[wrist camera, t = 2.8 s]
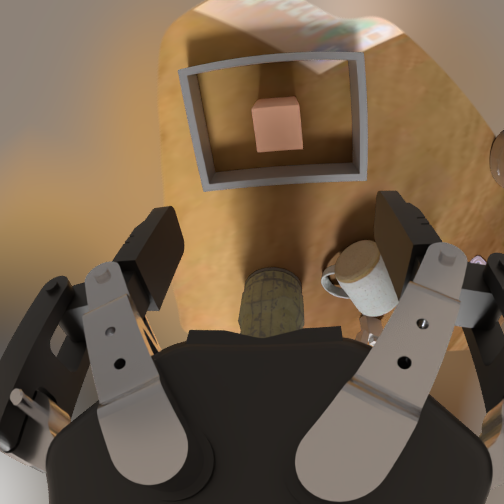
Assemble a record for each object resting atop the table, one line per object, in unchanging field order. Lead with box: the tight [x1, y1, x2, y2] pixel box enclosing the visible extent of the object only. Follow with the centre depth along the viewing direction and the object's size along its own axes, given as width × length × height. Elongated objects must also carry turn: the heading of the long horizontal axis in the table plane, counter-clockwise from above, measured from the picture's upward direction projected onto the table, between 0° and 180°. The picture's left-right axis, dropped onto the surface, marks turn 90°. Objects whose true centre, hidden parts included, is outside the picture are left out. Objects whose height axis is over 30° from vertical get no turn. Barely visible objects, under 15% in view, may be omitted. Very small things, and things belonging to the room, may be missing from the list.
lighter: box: [355, 315, 383, 346], centre depth 43 cm, size 7×2×8 cm, turn 62°
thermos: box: [238, 267, 304, 338], centre depth 30 cm, size 9×12×35 cm
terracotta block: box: [251, 96, 303, 152], centre depth 26 cm, size 4×4×7 cm
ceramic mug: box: [321, 240, 399, 317], centre depth 37 cm, size 11×8×8 cm
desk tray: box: [178, 52, 368, 192], centre depth 27 cm, size 18×14×4 cm
